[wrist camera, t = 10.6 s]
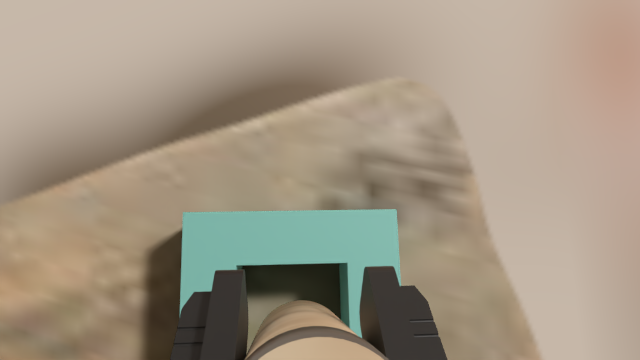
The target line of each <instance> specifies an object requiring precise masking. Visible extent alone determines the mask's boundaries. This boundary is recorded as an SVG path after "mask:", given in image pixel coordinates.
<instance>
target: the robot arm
mask: <svg viewBox="0 0 640 360" xmlns="http://www.w3.org/2000/svg"><path fill="white" fill-rule="evenodd" d="M359 315H360V328H361V334H362V339H364V340H366V341H367V342H369V343H370V344H371V345H373V346H374V347H375V348H376V349H377V350H378V351H380V352H381V353H382V354H383V355H384V356H385V357H387V358H388V359H389V360H447V357H446V354H445V352H444V349H443V346H442V343H441V340H440V337H439V336H438V331H437V328H436V325H435V322H433V316H432V313H431V310H430V307H429V304H428V301H427V300H426V299H425V298H424V296H423V295H422V294H421V293H420V292H419V291H418V289H417V288H416V287H415V286H400V285H399V282H398V278H397V275H396V271H395V268H394V267H393V266H371V267H365V268H364V273H363V282H362V290H361V298H360V309H359ZM177 328H178V330H177V332H176V336H175V340H174V347H173V349H172V353H171V358H170V360H244V359H245V357H246V351H247V338H248V302H247V290H246V278H245V270H216V271H215V274H214V279H213V285H212V291H205V292H194V293H193V294H192V295H191V297H190V298H189V299H188V301H187V302H186V303H185V305H184V306H183V308H182V310H181V314H180V319H179V323H178V327H177Z"/></svg>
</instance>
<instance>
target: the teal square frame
mask: <svg viewBox="0 0 640 360" xmlns="http://www.w3.org/2000/svg"><path fill="white" fill-rule="evenodd" d="M333 263H339V272H340V303H341V321H342V322H344V323H345V324H346V325H347V326H348V327H349V328H350V329H351V330H352V331H353V332H355V333H356V334H357V335H358V336H359V337H361V338H362V334H361V328H360V315H359V309H360V298H361V290H362V282H363V273H364V268H365V267H371V266H393V267H394V268H395V271H396V275H397V278H398V282H399V285H400V286H401V280H400V262H399V244H398V226H397V209H386V210H317V211H248V212H183V229H182V259H181V290H180V314H181V310H182V308H183V306H184V305H185V303H186V302H187V301H188V299H189V298H190V297H191V295H192V294H193V293H194V292H205V291H212V285H213V279H214V274H215V271H216V270H243V266H250V265H292V264H333Z"/></svg>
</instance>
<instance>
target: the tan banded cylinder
mask: <svg viewBox="0 0 640 360" xmlns="http://www.w3.org/2000/svg"><path fill="white" fill-rule="evenodd" d="M244 360H389V359H388V358H387V357H385V356H384V355H383V354H382V353H381V352H380V351H378V350H377V349H376V348H375V347H374V346H373V345H371V344H370V343H369V342H367V341H366V340H364V339H362V338H361V337H359V336H358V335H357V334H356V333H355V332H353V331H352V330H351V329H350V328H349V327H348V326H347V325H346V324H345V323H344V322H342V321H341V320H340V319H339V318H338V317H337V316H336V315H335V314H334V313H333V312H331V311H330V310H329V309H328V308H326V307H325V306H323V305H321V304H319V303H316V302H312V301H307V300H298V301H292V302H288V303H285V304H283V305H281V306H279V307H277V308H276V309H275V310H273V311H272V312H271V313H270V314H269V315H268V316H267V317H266V318H265V319H264V321H263V322H262V324H261V326H260V328H259V330H258V332H257V334H256V336H255V338H254V340H253V342H252V345H251V347H250V349H249V351H248V353H247V355H246V357H245V359H244Z"/></svg>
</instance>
